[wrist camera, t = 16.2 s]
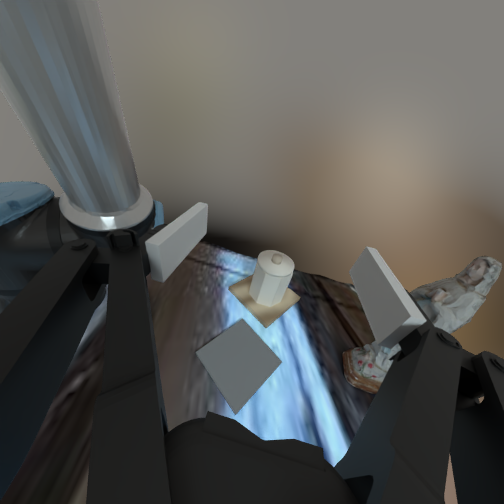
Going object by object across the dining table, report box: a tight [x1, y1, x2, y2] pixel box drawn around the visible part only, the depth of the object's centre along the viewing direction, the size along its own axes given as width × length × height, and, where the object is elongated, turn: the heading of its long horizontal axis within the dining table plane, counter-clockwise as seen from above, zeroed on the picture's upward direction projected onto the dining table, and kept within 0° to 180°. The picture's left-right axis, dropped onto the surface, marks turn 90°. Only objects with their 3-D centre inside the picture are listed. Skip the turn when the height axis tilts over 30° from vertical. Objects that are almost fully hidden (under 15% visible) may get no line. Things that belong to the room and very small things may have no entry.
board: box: [229, 274, 300, 328], centre depth 49 cm, size 14×14×1 cm
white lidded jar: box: [249, 250, 294, 307], centre depth 46 cm, size 9×9×12 cm
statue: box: [342, 256, 502, 394], centre depth 29 cm, size 8×7×30 cm
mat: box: [196, 319, 282, 415], centre depth 35 cm, size 12×12×1 cm
